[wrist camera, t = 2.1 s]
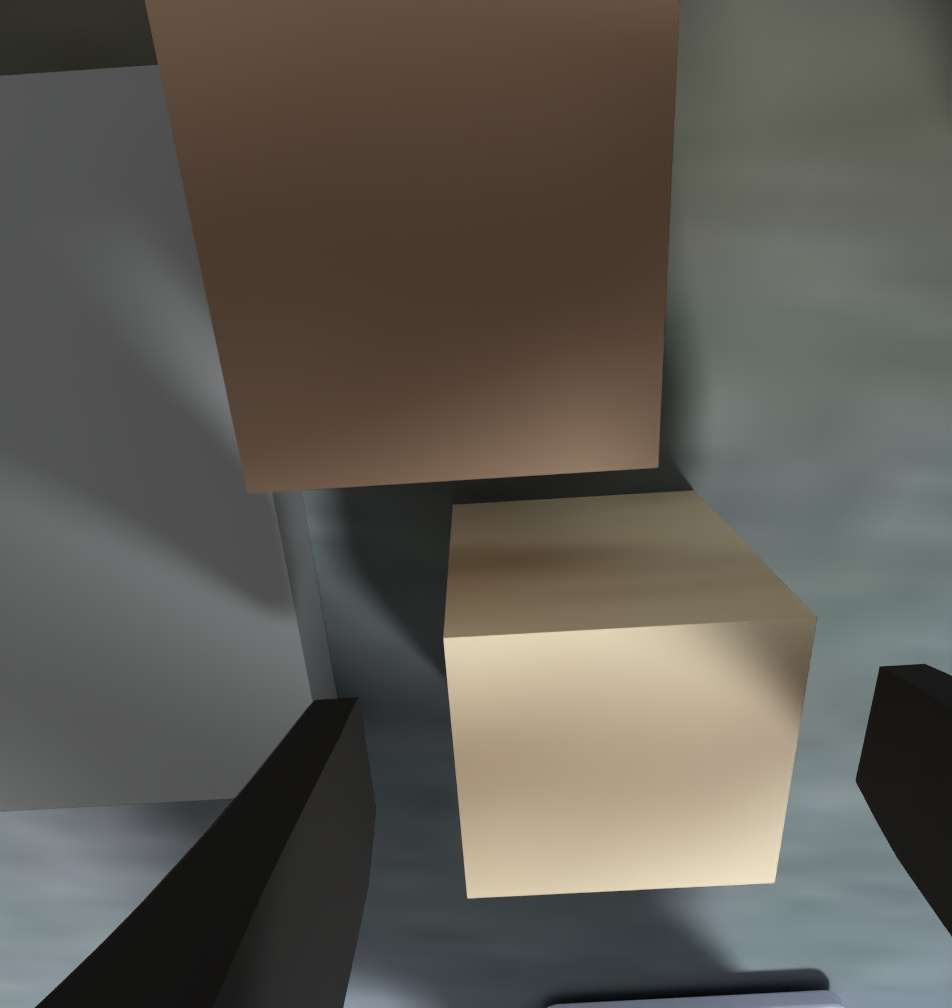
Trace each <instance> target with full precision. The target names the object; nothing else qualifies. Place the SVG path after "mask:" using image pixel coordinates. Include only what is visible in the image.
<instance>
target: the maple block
mask: <svg viewBox="0 0 952 1008" xmlns="http://www.w3.org/2000/svg"><path fill="white" fill-rule="evenodd" d="M816 623H817V616H816V615H815V614H814V613H813V612H812V611H811V610H810V609H809V608H808V607H807V606H806V605H805V604H804V603H803V602H802V601H801V600H800V599H799V598H798V597H797V596H796V595H795V594H794V593H793V592H792V591H791V590H790V589H789V588H788V587H787V585H786V584H785V583H784V582H783V581H782V580H781V579H780V578H779V577H778V576H777V575H776V574H775V573H774V572H773V571H772V570H771V569H770V568H769V567H768V566H767V565H766V564H765V563H764V562H763V561H762V560H761V559H760V558H759V557H758V556H757V555H756V554H755V553H754V552H753V551H752V550H751V549H750V547H749V546H748V545H747V544H746V543H745V542H744V541H743V540H742V539H741V538H740V537H739V536H738V535H737V534H736V533H735V532H734V531H733V530H732V529H731V528H730V527H729V526H728V525H727V524H726V523H725V522H724V521H723V520H722V519H721V518H720V517H719V516H718V515H717V514H716V513H715V512H714V511H713V509H712V508H711V507H710V506H709V505H708V504H707V503H706V502H705V501H704V500H703V499H702V498H701V497H700V496H699V495H698V494H697V493H696V492H695V491H694V490H692V491H675V492H659V493H642V494H625V495H608V496H592V497H575V498H558V499H541V500H525V501H508V502H491V503H474V504H458V505H453V508H452V522H451V536H450V550H449V565H448V579H447V593H446V607H445V622H444V636H443V640H444V651H445V662H446V673H447V683H448V694H449V705H450V716H451V727H452V737H453V748H454V759H455V770H456V781H457V792H458V802H459V813H460V824H461V835H462V846H463V857H464V867H465V878H466V889H467V898H486V897H506V896H526V895H545V894H565V893H585V892H605V891H624V890H644V889H664V888H684V887H704V886H723V885H743V884H763V883H775V876H776V870H777V864H778V858H779V852H780V845H781V839H782V833H783V827H784V821H785V814H786V808H787V802H788V796H789V790H790V784H791V777H792V771H793V765H794V759H795V753H796V746H797V740H798V734H799V728H800V722H801V715H802V709H803V703H804V697H805V691H806V684H807V678H808V672H809V666H810V660H811V653H812V647H813V641H814V635H815V629H816Z"/></svg>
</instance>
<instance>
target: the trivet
mask: <svg viewBox="0 0 952 1008" xmlns="http://www.w3.org/2000/svg"><path fill="white" fill-rule="evenodd" d="M322 699H337V693H336V687H335V682H334V676H333V670H332V664H331V659H330V653H329V647H328V641H327V636H326V630H325V624H324V618H323V613H322V607H321V601H320V595H319V590H318V584H317V578H316V572H315V567H314V561H313V555H312V550H311V544H310V538H309V532H308V527H307V521H306V515H305V509H304V504H303V498H302V492H301V490H296V491H280V492H264V493H248V494H247V489H246V485H245V480H244V475H243V470H242V465H241V461H240V456H239V451H238V446H237V441H236V437H235V432H234V427H233V422H232V417H231V413H230V408H229V403H228V398H227V393H226V389H225V384H224V379H223V374H222V369H221V365H220V360H219V355H218V350H217V345H216V340H215V336H214V331H213V326H212V321H211V316H210V312H209V307H208V302H207V297H206V292H205V288H204V283H203V278H202V273H201V268H200V264H199V259H198V254H197V249H196V244H195V240H194V235H193V230H192V225H191V220H190V216H189V211H188V206H187V201H186V196H185V192H184V187H183V182H182V177H181V172H180V168H179V163H178V158H177V153H176V148H175V144H174V139H173V134H172V129H171V124H170V120H169V115H168V110H167V105H166V100H165V96H164V91H163V86H162V81H161V76H160V72H159V67H158V65H146V66H132V67H118V68H103V69H89V70H75V71H61V72H47V73H33V74H19V75H4V76H0V812H4V811H22V810H39V809H57V808H75V807H93V806H110V805H128V804H146V803H163V802H181V801H199V800H217V799H234V798H235V797H236V796H237V795H238V794H239V792H240V791H241V790H242V789H243V788H244V786H245V785H246V784H247V783H248V782H249V780H250V779H251V778H252V777H253V776H254V774H255V773H256V772H257V771H258V769H259V768H260V767H261V766H262V764H263V763H264V762H265V761H266V759H267V758H268V757H269V756H270V754H271V753H272V752H273V751H274V749H275V748H276V747H277V746H278V744H279V743H280V742H281V740H282V739H283V738H284V737H285V735H286V734H287V733H288V732H289V730H290V729H291V728H292V726H293V725H294V724H295V723H296V721H297V720H298V719H299V718H300V716H301V715H302V714H303V713H304V711H305V710H306V709H307V708H308V706H309V705H310V704H311V703H312V702H313V701H314V700H322Z"/></svg>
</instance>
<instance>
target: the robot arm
mask: <svg viewBox="0 0 952 1008" xmlns="http://www.w3.org/2000/svg"><path fill="white" fill-rule="evenodd" d="M856 783H857V785H858V787H859V789H860V790H861V792H862V794H863V796H864V798H865V800H866V802H867V804H868V806H869V808H870V810H871V812H872V814H873V815H874V817H875V819H876V821H877V823H878V825H879V827H880V828H881V830H882V832H883V834H884V835H885V837H886V839H887V841H888V842H889V844H890V846H891V848H892V850H893V851H894V853H895V855H896V857H897V858H898V859H899V861H900V862H901V864H902V865H903V867H904V868H905V870H906V871H907V873H908V874H909V876H910V877H911V879H912V880H913V882H914V883H915V884H916V886H917V887H918V889H919V890H920V892H921V893H922V894H923V896H924V897H925V899H926V900H927V902H928V903H929V905H930V906H931V907H932V909H933V910H934V912H935V913H936V915H937V916H938V917H939V919H940V920H941V922H942V923H943V925H944V926H945V927H946V929H947V930H948V932H949V933H950V935H951V936H952V676H951V675H949V674H947V673H945V672H942V671H940V670H938V669H935V668H933V667H931V666H928V665H926V664H916V665H899V666H882V667H880V668H879V673H878V678H877V682H876V687H875V692H874V696H873V701H872V706H871V711H870V715H869V720H868V725H867V729H866V734H865V739H864V744H863V748H862V753H861V758H860V762H859V767H858V772H857V776H856ZM375 814H376V805H375V799H374V793H373V786H372V780H371V774H370V768H369V762H368V755H367V749H366V743H365V737H364V731H363V724H362V718H361V712H360V706H359V700H358V697H356V698H339V699H322V700H314V701H313V702H312V703H311V704H310V705H309V706H308V708H307V709H306V710H305V711H304V713H303V714H302V715H301V716H300V718H299V719H298V720H297V721H296V723H295V724H294V725H293V726H292V728H291V729H290V730H289V732H288V733H287V734H286V735H285V737H284V738H283V739H282V740H281V742H280V743H279V744H278V746H277V747H276V748H275V749H274V751H273V752H272V753H271V754H270V756H269V757H268V758H267V759H266V761H265V762H264V763H263V764H262V766H261V767H260V768H259V769H258V771H257V772H256V773H255V774H254V776H253V777H252V778H251V779H250V780H249V782H248V783H247V784H246V785H245V786H244V788H243V789H242V790H241V791H240V792H239V794H238V795H237V796H236V797H235V798H234V799H233V801H232V802H231V803H230V804H229V805H228V807H227V808H226V809H225V810H224V811H223V813H222V814H221V815H220V816H219V817H218V818H217V820H216V821H215V822H214V823H213V824H212V826H211V827H210V828H209V829H208V830H207V831H206V833H205V834H204V835H203V836H202V837H201V838H200V839H199V841H198V842H197V843H196V844H195V845H194V846H193V847H192V848H191V849H190V850H189V851H188V853H187V854H186V855H185V856H184V857H183V858H182V859H181V860H180V861H179V862H178V863H177V865H176V866H175V867H174V868H173V869H172V870H171V871H170V872H169V873H168V874H167V876H166V877H165V878H164V879H163V880H162V881H161V882H160V883H159V884H158V885H157V886H156V888H155V889H154V890H153V891H152V892H151V893H150V894H149V895H148V896H147V897H146V898H145V900H144V901H143V902H142V903H141V904H140V905H139V906H138V907H137V908H136V909H135V910H134V911H133V912H132V913H131V914H130V915H129V916H128V917H127V918H126V919H125V920H124V921H123V922H122V923H121V924H120V925H119V926H118V927H117V928H116V929H115V930H114V932H113V933H112V934H111V935H110V936H109V937H108V938H107V939H106V940H105V941H104V942H103V943H102V944H101V945H100V946H99V947H98V948H97V949H96V950H95V951H94V952H92V953H91V954H90V955H89V956H88V957H87V958H86V959H85V960H84V961H83V962H82V963H81V964H80V965H79V966H78V967H77V968H76V969H75V970H74V971H73V972H72V973H71V974H70V975H69V976H68V977H67V978H66V979H65V980H64V981H62V982H61V983H60V984H59V985H58V986H57V987H56V988H55V989H54V990H53V991H52V992H51V993H50V994H49V995H48V996H47V997H46V998H45V999H44V1000H43V1001H41V1002H40V1003H39V1004H38V1005H37V1006H36V1007H35V1008H343V1006H344V1001H345V996H346V992H347V987H348V982H349V977H350V972H351V968H352V963H353V958H354V953H355V948H356V944H357V939H358V934H359V929H360V924H361V919H362V914H363V909H364V904H365V899H366V894H367V889H368V883H369V874H370V865H371V856H372V846H373V835H374V825H375ZM547 1008H845V1007H844V1005H843V1003H842V1001H841V999H840V997H839V996H838V995H837V994H836V993H834V992H831V991H827V990H817V991H798V992H778V993H759V994H740V995H721V996H702V997H682V998H663V999H644V1000H625V1001H606V1002H587V1003H567V1004H555V1005H551V1006H549V1007H547Z"/></svg>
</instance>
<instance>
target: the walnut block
mask: <svg viewBox="0 0 952 1008" xmlns="http://www.w3.org/2000/svg"><path fill="white" fill-rule="evenodd" d="M145 4H146V9H147V14H148V19H149V23H150V28H151V33H152V38H153V43H154V48H155V52H156V57H157V62H158V67H159V72H160V76H161V81H162V86H163V91H164V96H165V100H166V105H167V110H168V115H169V120H170V124H171V129H172V134H173V139H174V144H175V148H176V153H177V158H178V163H179V168H180V172H181V177H182V182H183V187H184V192H185V196H186V201H187V206H188V211H189V216H190V220H191V225H192V230H193V235H194V240H195V244H196V249H197V254H198V259H199V264H200V268H201V273H202V278H203V283H204V288H205V292H206V297H207V302H208V307H209V312H210V316H211V321H212V326H213V331H214V336H215V340H216V345H217V350H218V355H219V360H220V365H221V369H222V374H223V379H224V384H225V389H226V393H227V398H228V403H229V408H230V413H231V417H232V422H233V427H234V432H235V437H236V441H237V446H238V451H239V456H240V461H241V465H242V470H243V475H244V480H245V485H246V489H247V494H248V493H264V492H280V491H296V490H312V489H328V488H344V487H360V486H375V485H391V484H407V483H423V482H439V481H455V480H471V479H487V478H503V477H519V476H535V475H551V474H566V473H582V472H598V471H614V470H630V469H646V468H658V463H659V441H660V419H661V397H662V375H663V354H664V332H665V310H666V288H667V266H668V245H669V223H670V201H671V179H672V157H673V135H674V114H675V92H676V70H677V48H678V26H679V5H680V0H145Z"/></svg>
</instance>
